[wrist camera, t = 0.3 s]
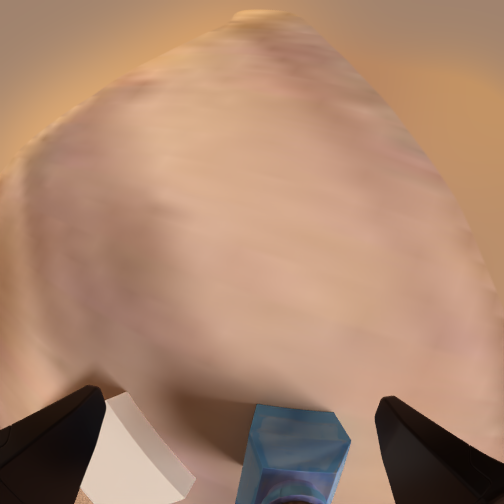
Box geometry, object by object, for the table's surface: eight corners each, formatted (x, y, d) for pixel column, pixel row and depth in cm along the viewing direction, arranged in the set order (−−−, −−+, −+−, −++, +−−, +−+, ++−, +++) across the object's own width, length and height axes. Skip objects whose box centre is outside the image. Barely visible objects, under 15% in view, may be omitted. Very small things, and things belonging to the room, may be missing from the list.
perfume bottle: (256, 403, 21) (236, 477, 9) (333, 412, 20) (379, 485, 9) (244, 466, 20) (219, 558, 8) (317, 474, 19) (340, 565, 7)
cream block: (197, 477, 20) (185, 498, 16) (126, 503, 19) (110, 521, 15) (128, 390, 22) (106, 399, 18) (68, 428, 21) (45, 438, 18)
